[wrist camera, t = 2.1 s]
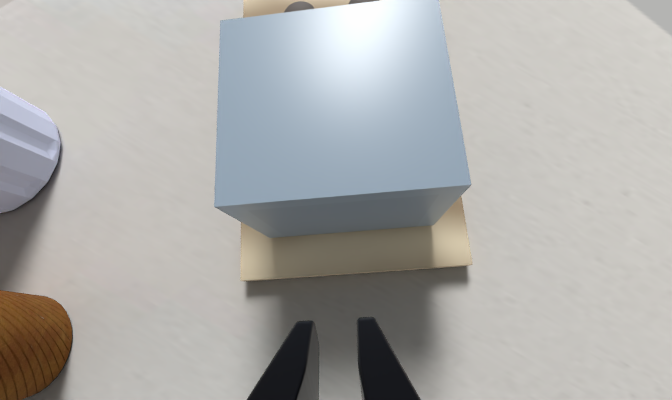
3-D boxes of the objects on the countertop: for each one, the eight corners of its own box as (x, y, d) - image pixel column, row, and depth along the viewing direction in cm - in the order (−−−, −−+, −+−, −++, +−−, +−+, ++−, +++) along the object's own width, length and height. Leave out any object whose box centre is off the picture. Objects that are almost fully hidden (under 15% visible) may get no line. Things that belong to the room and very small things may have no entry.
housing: (433, 225, 21) (471, 184, 13) (269, 238, 21) (214, 206, 14) (414, 93, 23) (437, -7, 15) (268, 108, 24) (220, 20, 16)
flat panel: (467, 266, 21) (496, 257, 16) (247, 281, 22) (212, 277, 17) (421, -16, 27) (433, -85, 22) (248, 6, 28) (223, -55, 23)
